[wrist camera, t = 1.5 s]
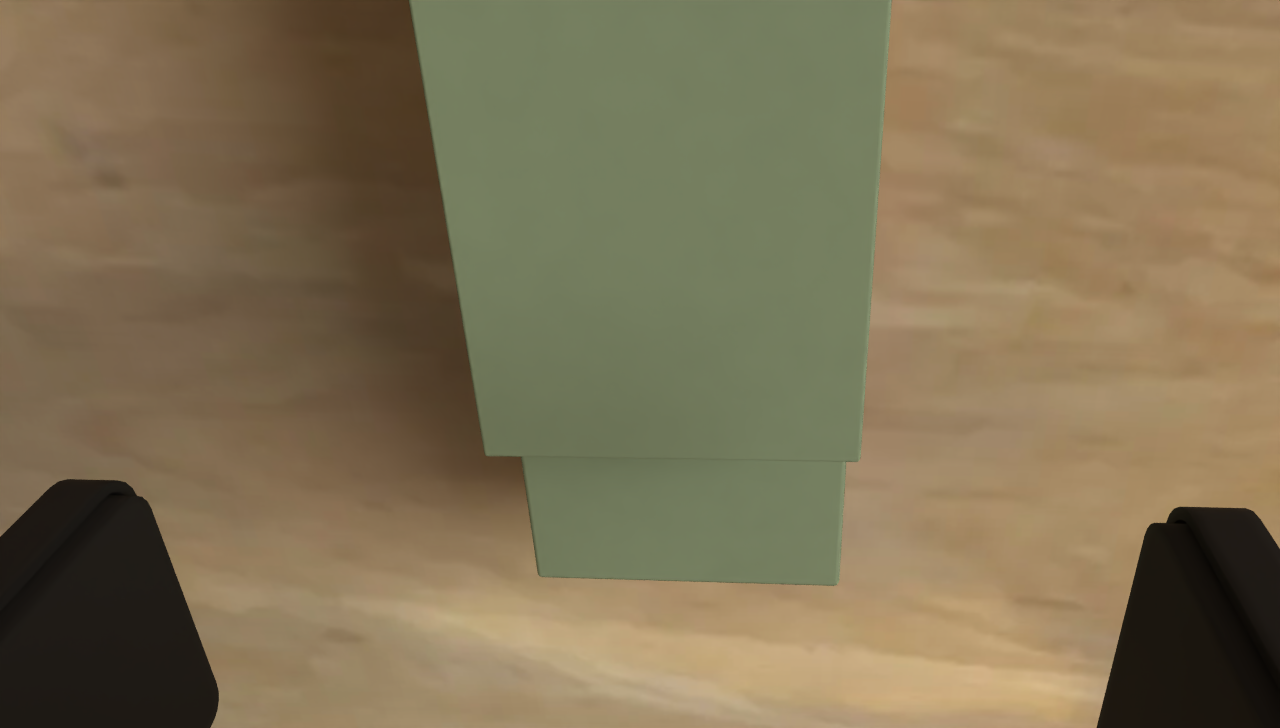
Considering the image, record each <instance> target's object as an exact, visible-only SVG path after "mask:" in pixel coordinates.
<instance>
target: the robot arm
mask: <svg viewBox="0 0 1280 728" xmlns="http://www.w3.org/2000/svg"><path fill="white" fill-rule="evenodd" d="M218 702H219V691H218V687H217V683H216V680H215V678H214V675H213V672H212V670H211V667H210V664H209V662H208V659H207V656H206V654H205V651H204V648H203V646H202V643H201V640H200V638H199V635H198V632H197V630H196V627H195V624H194V622H193V619H192V616H191V614H190V611H189V608H188V606H187V603H186V600H185V598H184V595H183V592H182V590H181V587H180V584H179V582H178V579H177V576H176V574H175V571H174V568H173V565H172V563H171V560H170V557H169V555H168V552H167V549H166V547H165V544H164V541H163V539H162V536H161V533H160V531H159V528H158V525H157V523H156V520H155V517H154V515H153V512H152V509H151V507H150V505H149V504H148V502H147V501H146V500H145V499H144V498H143V497H139V496H137V495H136V494H135V492H134V490H133V488H132V487H130V486H129V485H128V484H127V483H126V482H122V481H115V480H75V479H67V480H63V481H59V482H57V483H56V484H54V485H53V486H52V487H50V488H49V489H48V490H47V491H46V492H45V493H44V494H43V495H42V496H41V497H40V498H39V499H38V500H37V501H36V502H35V503H34V504H33V505H32V506H31V507H30V508H29V509H28V510H27V511H26V512H25V513H24V514H23V515H22V516H21V517H20V518H19V519H18V520H17V521H16V522H15V523H14V524H13V525H12V526H11V527H10V528H9V529H8V530H7V531H6V532H5V533H4V534H3V535H2V536H1V537H0V728H210V727H211V725H212V723H213V721H214V719H215V716H216V712H217V709H218ZM1097 728H1280V549H1279V547H1278V546H1277V544H1276V542H1275V541H1274V539H1273V538H1272V536H1271V535H1270V533H1269V532H1268V530H1267V529H1266V527H1265V526H1264V524H1263V523H1262V521H1261V519H1260V518H1259V517H1258V516H1257V515H1256V514H1255V513H1254V512H1253V511H1251V510H1249V509H1246V508H1209V507H1178V508H1175V509H1174V510H1173V511H1172V512H1171V513H1170V515H1169V517H1168V520H1167V522H1166V523H1153V524H1151V525H1150V526H1149V527H1148V528H1147V531H1146V534H1145V536H1144V540H1143V544H1142V548H1141V552H1140V556H1139V560H1138V564H1137V568H1136V572H1135V576H1134V580H1133V584H1132V588H1131V592H1130V596H1129V600H1128V604H1127V608H1126V612H1125V616H1124V620H1123V624H1122V628H1121V632H1120V636H1119V640H1118V644H1117V648H1116V652H1115V656H1114V660H1113V664H1112V668H1111V672H1110V676H1109V680H1108V685H1107V689H1106V693H1105V697H1104V701H1103V705H1102V709H1101V713H1100V717H1099V721H1098V725H1097Z"/></svg>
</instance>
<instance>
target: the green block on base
mask: <svg viewBox="0 0 1280 728" xmlns="http://www.w3.org/2000/svg"><path fill="white" fill-rule="evenodd" d="M891 3H892V0H409V5H410V11H411V17H412V23H413V29H414V35H415V41H416V47H417V53H418V59H419V65H420V71H421V77H422V83H423V89H424V95H425V101H426V107H427V113H428V119H429V125H430V131H431V137H432V143H433V149H434V155H435V161H436V167H437V173H438V178H439V184H440V190H441V196H442V202H443V208H444V214H445V220H446V226H447V232H448V238H449V244H450V250H451V256H452V262H453V268H454V274H455V280H456V286H457V292H458V298H459V304H460V310H461V316H462V322H463V328H464V334H465V340H466V346H467V352H468V358H469V364H470V370H471V376H472V382H473V388H474V394H475V400H476V406H477V412H478V418H479V424H480V430H481V436H482V442H483V448H484V453H485V455H486V456H511V457H521V460H522V467H523V474H524V481H525V488H526V495H527V502H528V509H529V516H530V523H531V530H532V536H533V543H534V550H535V557H536V564H537V571H538V575H539V576H541V577H559V578H592V579H626V580H659V581H693V582H726V583H760V584H794V585H827V586H835V585H837V584H838V582H839V575H840V558H841V541H842V524H843V508H844V491H845V474H846V462H858V461H859V460H860V456H861V442H862V427H863V413H864V398H865V383H866V369H867V354H868V339H869V325H870V310H871V296H872V281H873V266H874V252H875V237H876V222H877V208H878V193H879V179H880V164H881V149H882V135H883V120H884V105H885V91H886V76H887V62H888V47H889V32H890V18H891Z"/></svg>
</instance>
